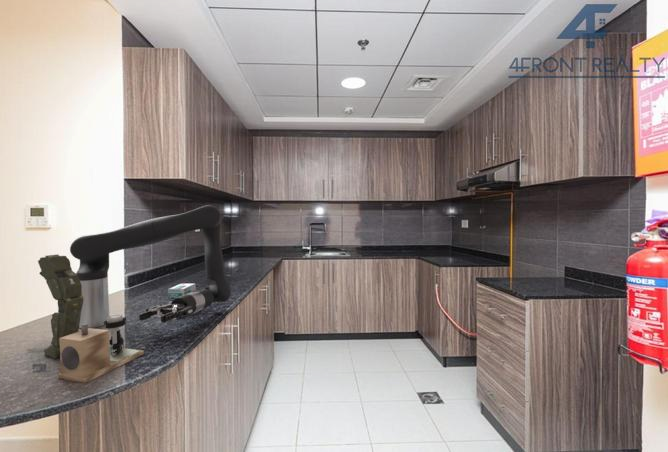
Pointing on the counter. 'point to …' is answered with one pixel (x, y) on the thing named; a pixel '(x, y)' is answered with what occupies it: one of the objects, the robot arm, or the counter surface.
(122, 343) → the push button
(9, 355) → the counter surface
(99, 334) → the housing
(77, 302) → the mechanical leg
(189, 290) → the light bulb box
